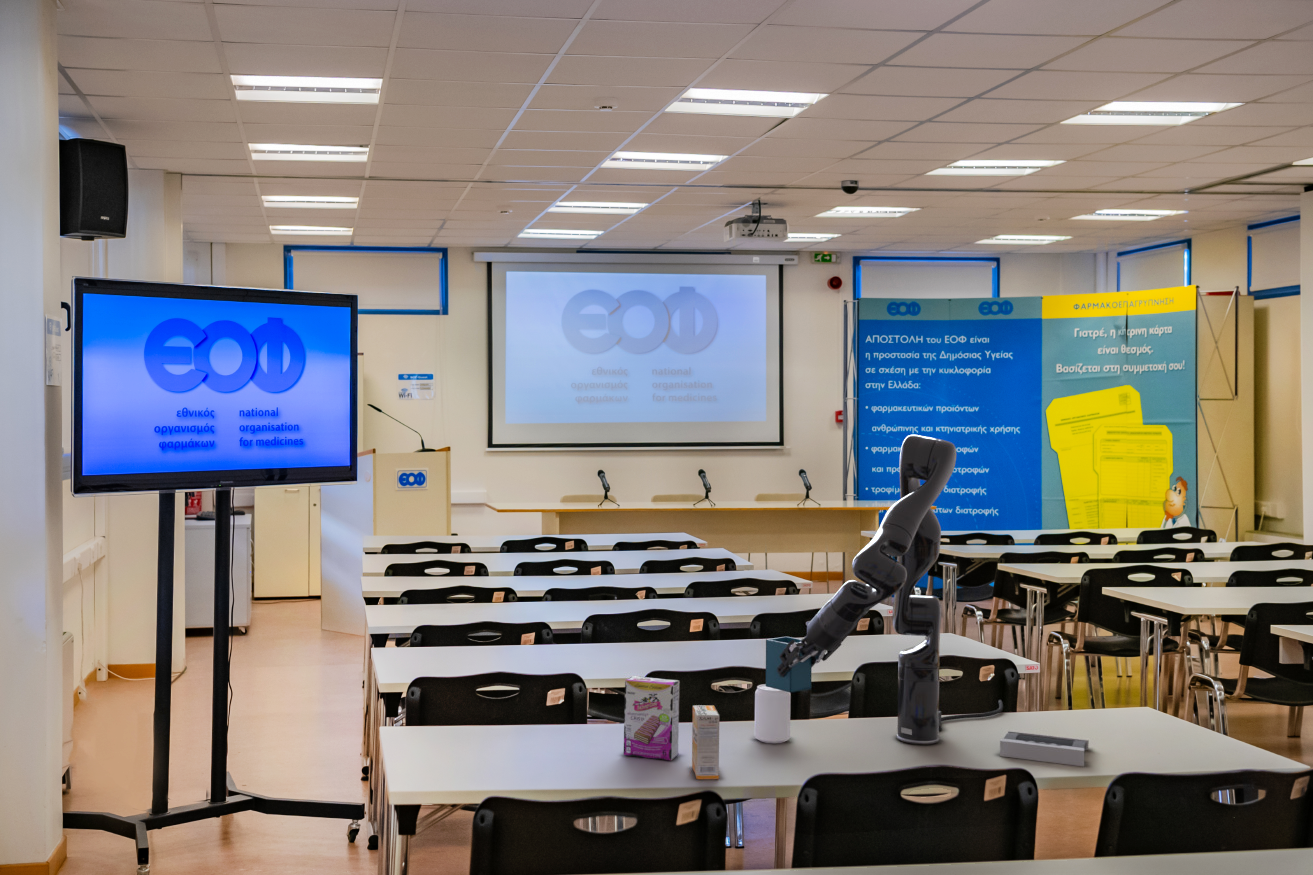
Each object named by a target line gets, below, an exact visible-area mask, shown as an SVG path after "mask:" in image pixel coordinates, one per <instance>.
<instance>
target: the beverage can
mask: <svg viewBox="0 0 1313 875" xmlns="http://www.w3.org/2000/svg"><path fill="white" fill-rule="evenodd" d="M791 697H792V696H791V693H790V692H786V691H782V690H778V689H774V688H770V687H766V683H764V684H758V685H757V686H756V690H755V692H754V732H753V733H754V735H753V736H754V738H755V739H756V740H758V741H760V742H762V743H766V744H782V743H785V742H786V741H788V740H790V739H791V699H792V698H791Z"/></svg>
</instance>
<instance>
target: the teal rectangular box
mask: <svg viewBox="0 0 1313 875" xmlns="http://www.w3.org/2000/svg"><path fill="white" fill-rule="evenodd" d="M792 640H794V641H795V642H796V643H799V642H800V641H801V640H802V638H796V637H792V636H791V637H790V636H781V637H774V638H767V639H765V684H766V687H770V688H774V689H778V690H782V691H786V692H790V694H791V693H796V692H801V691H802V692H803V691H806V690H812V668H813V667H812V656H810V657H809V658H808V659H806V660H805V661H804V662H802V663H801V662H798V663H797V664H796V665H794V666H793V667H792V668H791V669H790V671H789V672H788V673H787V674H786V675H785V676H784V677H780V675H779V674H778V672H777V668H778V666H779V665H780V664H781V663H782V661H781V659H780V657H779V656H780V655H781V653H782V652H783V650H784V649H785V648H786V646H787V645H788V644H789V642H790V641H792ZM799 654H800V656H801V657H803V655H802V653H801V652H800V651H799ZM795 659H796V657H795V658H794V659H793V661H794V660H795Z"/></svg>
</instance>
